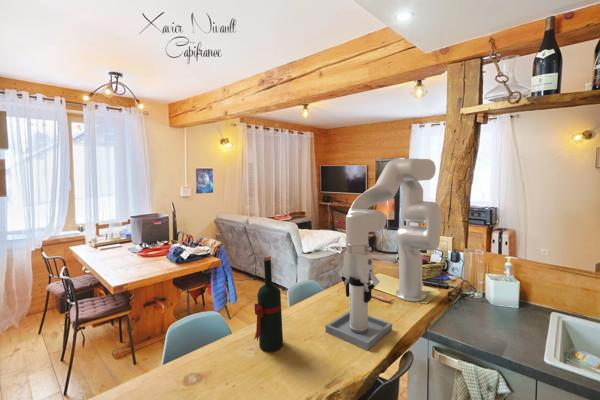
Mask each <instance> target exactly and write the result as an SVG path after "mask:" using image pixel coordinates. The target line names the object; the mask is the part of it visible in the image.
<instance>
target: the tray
mask: <svg viewBox="0 0 600 400" xmlns="http://www.w3.org/2000/svg"><path fill="white" fill-rule="evenodd" d="M324 327H325V333H327V334H328V335H332V336H333V337H334V338H335V337H336V338H338V339H340V340H343V341H345V342H348V343H350V344H351V345H354V346H356V347H359V348H360V349H363V350H364V351H367V352H368V351H369V350H370V349H372V348H373V347H374V346H376V345H377V344H378V343H379V342H380V341H381V340H382V339H384V338H385V337H387V335H389V333H391V332H392V331H393V323H391V322H389V321H386V320H383V319H379V318H376V317H374V316H372V315H369V314H368V331H367V332H365V333H361V334H359V333H354V332H352V331H351V330H350V310H348V311H347V312H344V313H343V314H341V315H340V316H338V317H337V318H335V319H334V320H332V321H330V322H329V323H327V324H325V326H324Z"/></svg>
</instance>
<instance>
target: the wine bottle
mask: <svg viewBox="0 0 600 400" xmlns="http://www.w3.org/2000/svg"><path fill="white" fill-rule="evenodd" d="M271 258H272V257H271V255H268V254H267V255H264V256H263V264H264V266H263V267H264V269H263V270H264V284H263V285H261V287H260V288H259V289H258V292H257V294H256V295H257V299H256V300H257V302H256V303H254V314H255V316H256V328H255V329H256V331H255V335H254V339H253V340H256V342H258V341H259V342H258V343H259V346H258V347H259V349H260V351H262V352H265V353H274V352H277V351H280V350H281V349H282V348H283V347H284V339H283V338H284V335H283V318H282V299H281V297H282V296H281V295H282V294H281V290H280V288H279V287H278V286H277V285H276V284H274V283H273V281H272V280H273V279H272V277H273V276H272V259H271Z"/></svg>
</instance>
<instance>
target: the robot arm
mask: <svg viewBox="0 0 600 400" xmlns="http://www.w3.org/2000/svg"><path fill="white" fill-rule="evenodd" d="M436 171H437V169H436V164H435V162H434V161H433V160H432V159H430V158H401V159H400V158H397V159H392V160H389V161H388V162H387V163H386V164H385V165H384V167H383V170H382V171H381V173H380V175H379V177H378V179H377V180H376V183H375V184H374V185H373V186H372V187H370V188H368V189H367V190H365V191H364V192H363V193H361V194H360V195H358V196H356V197H357V198H355V199H354V201H353V202H352V204H351V206H350V208H349V210H348V211H347V214H346V215H345V246H346V250H345V251H344V255H343V256H344V257H343V266H342V269H340V270H339V271H338V275H339V276H340V278H341V280H342V282H343V285H344V286H345V296H346V298H349V281H350V280H349V277H352V278H354V279H356V280H359V279H360V282H361V283H363V285H364V287H365V290H366V291H364V302H365V303H367V302H368V303H369V302H370V301H371V300H372V290H373V289H374V288H375V287H377V285H379V284H380V279H378V278H377V276H376V275H375V267H374V260H373V256H372V253H371V252H372V250H373V249H372V247H371V246H370V244H369V233H371V232H373V233H375V232H380V231H382V230H383V229H384V228H385V227H386V225H387V216H386V214H385V213H384V212H382V211H381V210H377V209H369V208H371V207H372V206H375V205H378V204H381V203H384V202H387V201H389V200H392V199H394V198H395V196H396V195H397V193H398V191H399V189H400V187H401V191H402V199H401V200H402V201H401V218H402V220H403V221H405V222H407V223H413V224H424V225H425V226H419V225H411V224H409V225H408V224H406V225H402V226H400V227H399V228H398V229H397V231H396V241H397V245H398V278H399V279H398V282H399V283H398V289H396V290H395V297H396V298H398V299H400V300H403V301H405V302H406V301H407V302H421V301H424V300H426V298H427V295H426V293H425V292H424V291H423V287H424V285H425V284H424V282H423V257H422V254H421V252H420V250H423V251H430V252H431V251H432V252H433V251H436V250H437V249H438V248H439V246H440V242H441V229H442V228H441V227H442V209H441V207H440V205H439V204H438V203H437V202H435V201H424V188H423V186H422V185H421V182H422V181H430V180H432V179H433V178H434V176H435V174H436ZM371 281H372V282H371ZM367 284H368V285H367Z"/></svg>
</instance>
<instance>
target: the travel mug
mask: <svg viewBox="0 0 600 400" xmlns="http://www.w3.org/2000/svg"><path fill="white" fill-rule="evenodd" d="M349 280H350V281H349V297H348V298H349V311H350V330H351V331H352V332H354V333H359V334H361V333H365V332H367V331H368V315H369V302H367V303H365V302H364V291H366V290H365V287H364V285H363V283H361V282H360V279H359V280H356V279H354V278H352V277H349ZM367 285H368V284H367Z"/></svg>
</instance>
